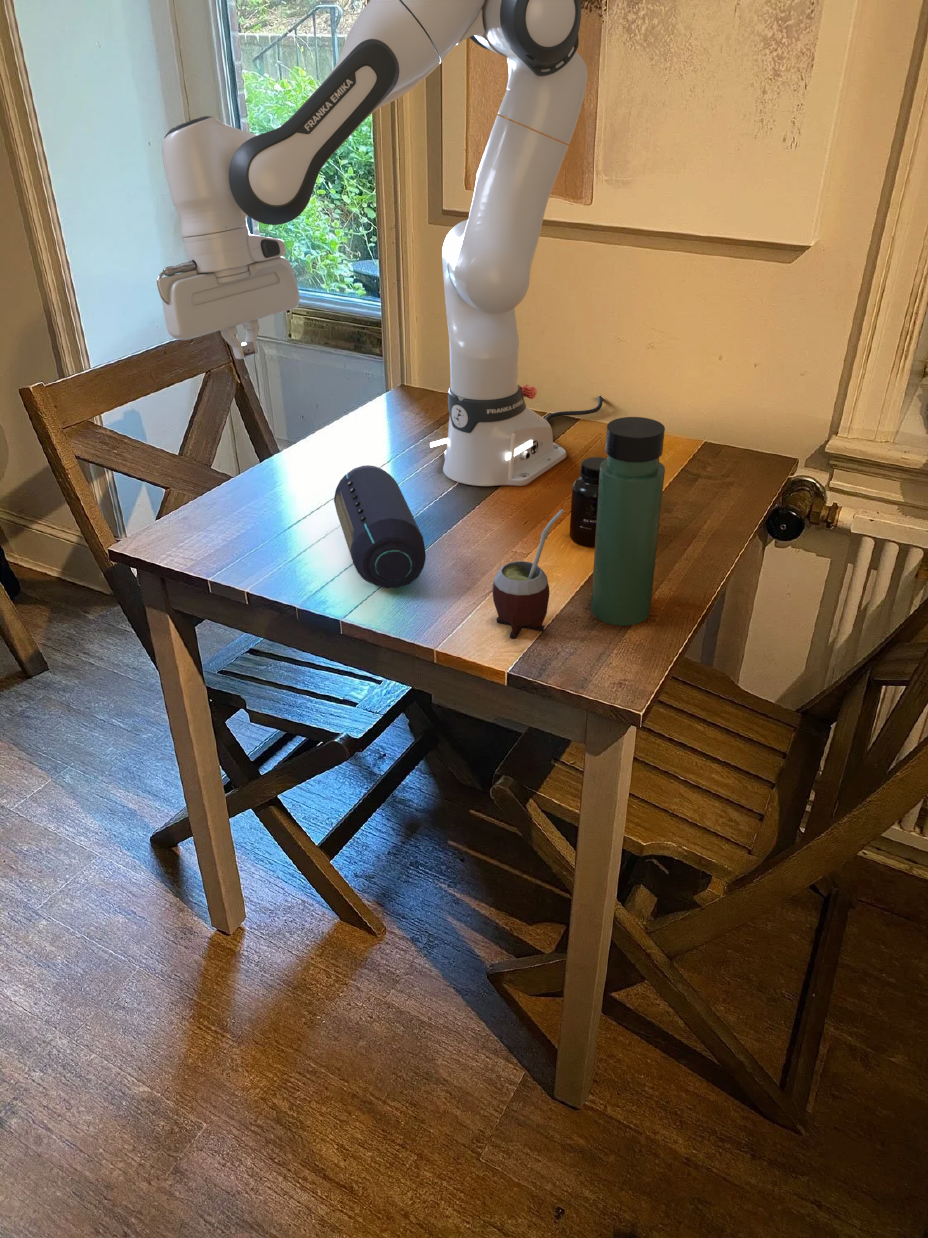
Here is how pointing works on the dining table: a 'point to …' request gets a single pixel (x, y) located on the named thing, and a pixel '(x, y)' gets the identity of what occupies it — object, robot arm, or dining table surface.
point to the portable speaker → (379, 528)
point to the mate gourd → (523, 591)
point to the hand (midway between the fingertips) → (247, 356)
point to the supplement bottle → (585, 503)
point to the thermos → (628, 521)
